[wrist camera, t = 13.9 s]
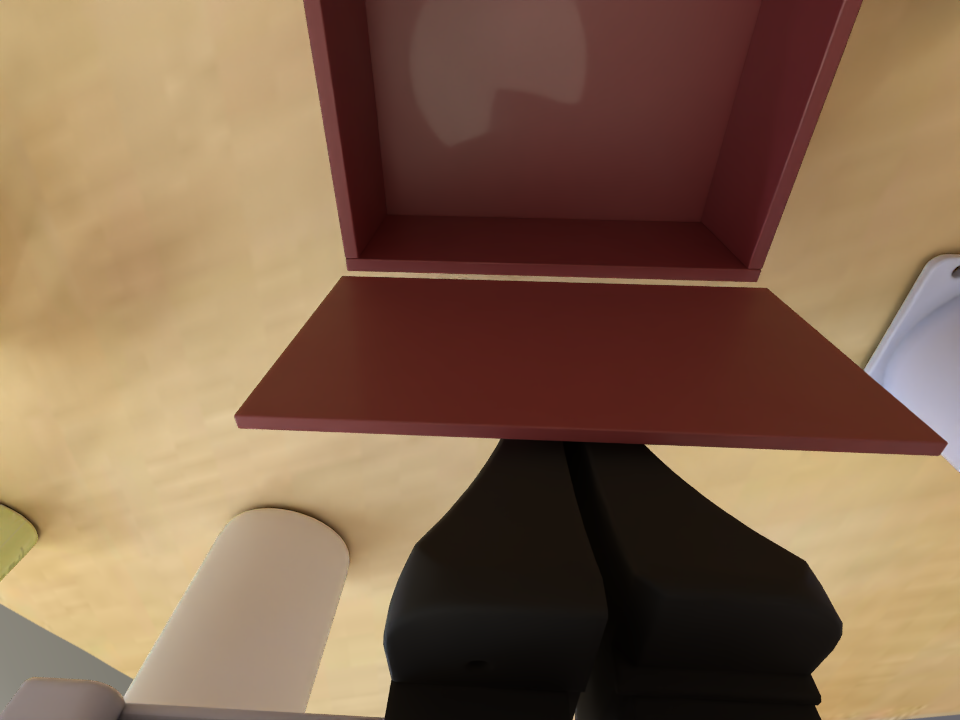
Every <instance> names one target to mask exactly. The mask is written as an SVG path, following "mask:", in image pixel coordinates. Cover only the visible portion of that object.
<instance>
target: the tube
mask: <svg viewBox="0 0 960 720" xmlns="http://www.w3.org/2000/svg"><path fill="white" fill-rule="evenodd" d="M37 540H38V535H37V532H36V530H35V528H34V527H33V525H32V524H31V523H30V522H29V521H28V520H27V519H26V518H25V517H23V516H22V515H20V514H19V513H17V512H15V511H14V510H12V509H10V508H8V507H6V506H4V505H2V504H0V581H1V580H2V579H3V578H4V577H5V576H6V575H7V574H8V573H9V572H10V571H11V570H12V569H13V568H14V567H15V566H16V565H17V564H18V562H19V561H20V560H21V559H22V558H23V557H24V556H25V555H26V554H27V553H28V552H29V551H30V550H31V549H32V548H33V546H34V545H35V544H36V543H37Z"/></svg>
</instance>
